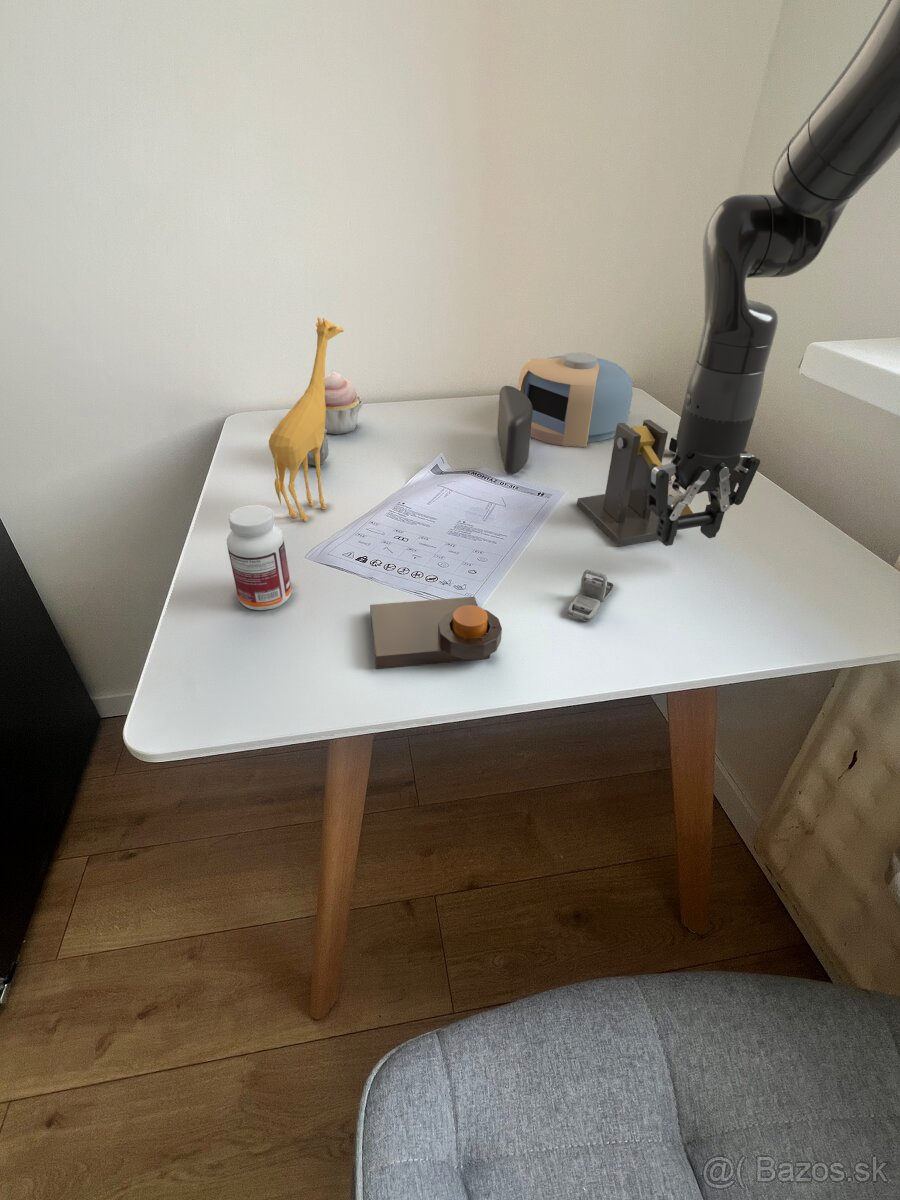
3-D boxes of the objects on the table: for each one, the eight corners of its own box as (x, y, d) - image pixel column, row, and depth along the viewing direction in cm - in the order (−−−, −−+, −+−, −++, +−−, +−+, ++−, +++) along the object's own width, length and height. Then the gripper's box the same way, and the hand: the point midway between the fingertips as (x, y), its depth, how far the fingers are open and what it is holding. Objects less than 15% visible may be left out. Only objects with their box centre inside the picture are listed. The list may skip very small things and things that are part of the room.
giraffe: (339, 480, 107) (325, 308, 92) (363, 486, 105) (353, 312, 90) (269, 526, 95) (240, 338, 80) (294, 535, 93) (270, 344, 79)
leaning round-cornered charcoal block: (533, 478, 109) (539, 420, 103) (504, 478, 108) (508, 419, 103) (522, 436, 122) (526, 382, 116) (495, 436, 122) (499, 382, 116)
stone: (350, 466, 111) (345, 405, 105) (314, 479, 107) (308, 416, 101) (315, 447, 116) (310, 388, 110) (281, 459, 112) (272, 398, 106)
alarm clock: (495, 421, 127) (499, 354, 120) (566, 397, 138) (574, 334, 131) (577, 456, 116) (587, 383, 108) (647, 426, 127) (660, 358, 119)
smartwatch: (683, 450, 118) (688, 428, 116) (692, 455, 117) (697, 432, 114) (666, 454, 117) (671, 431, 115) (675, 459, 115) (680, 436, 113)
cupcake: (351, 414, 128) (348, 359, 122) (373, 432, 122) (370, 375, 116) (303, 423, 125) (297, 367, 119) (322, 442, 118) (317, 383, 112)
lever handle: (708, 529, 86) (717, 516, 84) (670, 535, 84) (678, 522, 82) (649, 437, 94) (656, 424, 92) (614, 442, 92) (620, 428, 90)
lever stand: (676, 536, 95) (699, 441, 87) (618, 546, 93) (636, 450, 85) (630, 496, 104) (647, 407, 96) (576, 505, 102) (589, 414, 94)
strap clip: (589, 624, 79) (595, 594, 77) (565, 616, 80) (569, 585, 78) (614, 587, 85) (620, 558, 83) (591, 580, 86) (596, 551, 84)
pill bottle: (261, 576, 85) (248, 496, 79) (302, 590, 83) (292, 509, 77) (226, 602, 81) (209, 520, 74) (269, 618, 79) (254, 534, 72)
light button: (483, 616, 75) (484, 603, 74) (490, 638, 72) (491, 624, 71) (450, 619, 74) (450, 606, 73) (455, 641, 71) (456, 627, 70)
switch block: (484, 607, 81) (486, 582, 79) (504, 668, 73) (507, 642, 71) (370, 616, 79) (369, 591, 77) (377, 680, 71) (376, 654, 69)
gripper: (683, 425, 71) (652, 564, 81) (797, 410, 75) (754, 544, 85) (643, 400, 77) (619, 533, 87) (751, 387, 81) (716, 516, 91)
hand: (686, 538), depth 86 cm, fingers closed on lever handle, 5 cm apart
